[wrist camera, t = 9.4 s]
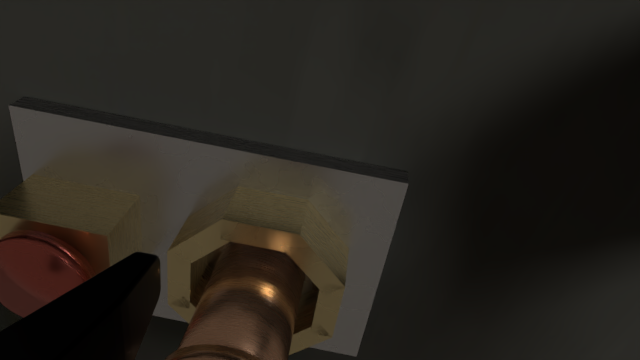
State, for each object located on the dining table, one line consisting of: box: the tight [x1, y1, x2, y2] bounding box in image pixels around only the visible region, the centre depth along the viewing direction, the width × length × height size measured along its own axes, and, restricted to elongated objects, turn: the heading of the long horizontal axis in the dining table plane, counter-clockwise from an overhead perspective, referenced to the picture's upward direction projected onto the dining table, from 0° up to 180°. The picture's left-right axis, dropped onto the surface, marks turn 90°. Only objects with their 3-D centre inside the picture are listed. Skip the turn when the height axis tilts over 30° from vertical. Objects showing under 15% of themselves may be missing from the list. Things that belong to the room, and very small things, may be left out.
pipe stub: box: [165, 241, 305, 360], centre depth 19 cm, size 5×5×8 cm
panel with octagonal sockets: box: [0, 97, 409, 357], centre depth 22 cm, size 17×11×5 cm, turn 81°
